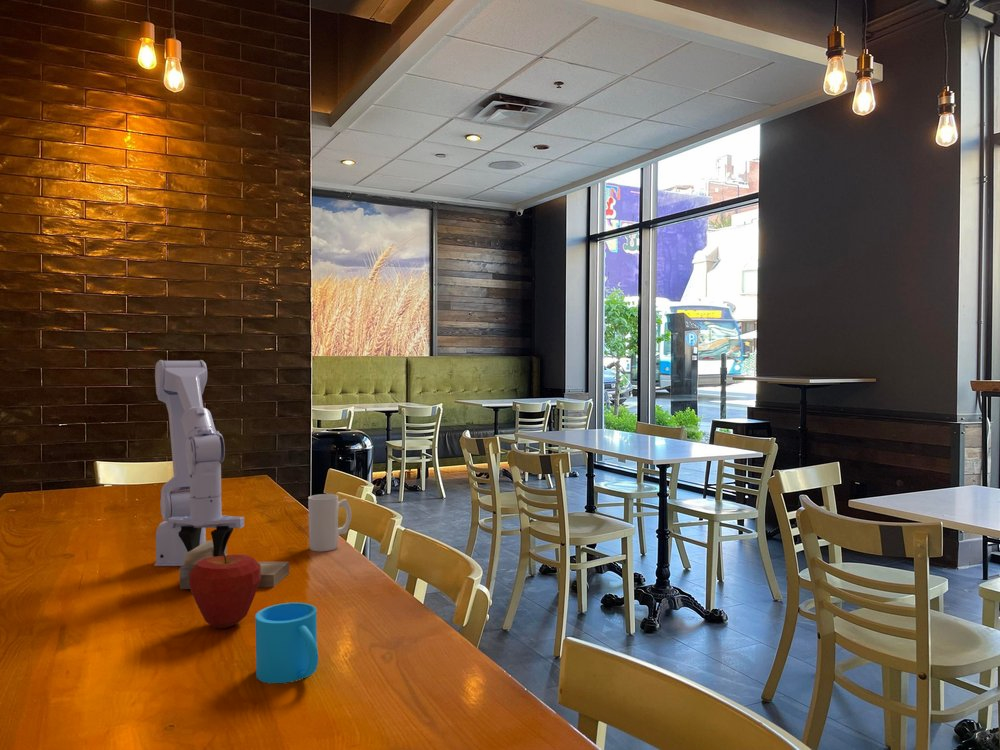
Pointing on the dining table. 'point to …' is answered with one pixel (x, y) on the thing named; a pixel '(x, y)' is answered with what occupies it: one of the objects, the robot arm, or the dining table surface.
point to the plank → (272, 573)
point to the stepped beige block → (195, 561)
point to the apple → (224, 588)
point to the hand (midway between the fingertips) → (206, 564)
